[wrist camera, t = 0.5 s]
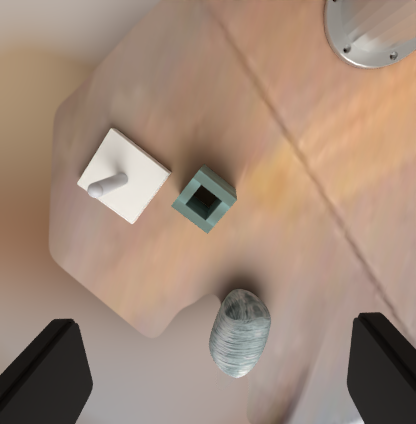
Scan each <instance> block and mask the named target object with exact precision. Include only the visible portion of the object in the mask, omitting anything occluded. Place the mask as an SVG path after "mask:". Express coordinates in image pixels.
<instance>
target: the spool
mask: <svg viewBox="0 0 416 424" xmlns="http://www.w3.org/2000/svg"><path fill="white" fill-rule="evenodd" d="M270 325H271V317H270V314H269V311H268V309H267V307H266V306H265V305H264V303H263V302H262V301H261V300H260V299H259V298H258V297H257V296H255V295H254V294H253V293H251V292H250V291H247V290H244V289H235V290H232V291H231V292H230V293H229V294H228V295H227V297H226V298H225V300H224V301H223V303H222V305H221V307H220V310H219V312H218V314H217V317H216V319H215V322H214V325H213V328H212V331H211V335H210V341H209V348H210V352H211V356H212V358H213V359H214V361H215V363H216V364H217V366H218V367H219V368H220V369H221V370H222V371H223V372H225V373H226V374H228V375H230V376H232V377H236V378H239V377H241V376H244V375H246V374H247V373H248V372H249V371H250V370H251V369H252V368H253V367H254V366H255V364H256V363H257V362H258V360H259V358H260V356H261V354H262V352H263V349H264V347H265V344H266V341H267V338H268V334H269V330H270Z"/></svg>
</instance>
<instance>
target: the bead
mask: <svg viewBox="0 0 416 424" xmlns="http://www.w3.org/2000/svg"><path fill="white" fill-rule="evenodd" d="M200 185H203V186H204V187H205V188H206V189H208V190H209V191H210V192H211V193H213V194H214V195H215V196H216V197H218V198H217V199H216V200H215V201H214V202H213V204H212V205H211V206H210V207H208V206H207V205H205V204H204V203H203V202H201V201H200V200H199V199H198V198H196V197H195V196H194V195H193V194H194V193H195V192H196V190H197V189H198V188H199V187H200ZM236 200H237V196H236V189H234V188H233V187H232V186H231V185H229V184H228V183H227V182H226V181H224V180H223V179H222V178H221V177H219V176H218V175H217V174H216V173H215V172H213V171H212V170H211V169H210V168H208V167H207V166H206V165H205V164H204V165H203V166H202V167H201V168H200V170H199V171H198V172H197V173H196V175H195V176H194V177H193V178H192V180H191V181H190V182H189V184H188V185H187V186H186V187H185V189H184V190H183V191H182V193H181V194H180V195H179V196H178V198H177V199H176V200H175V202H174V203H173V204H172V205H171V206H172V207H173V208H174V209H176V210H177V211H178V212H180V213H181V214H182V215H184V216H185V217H186V218H188V219H189V220H190V221H191V222H193V223H194V224H195V225H197V226H198V227H199V228H201V229H202V230H203V231H205V232H206V233H207V234H208V233H209V231H210V230H211V229H212V228H213V227H214V226H215V224H216V223H217V222H218V221H219V220H220V219H221V218H222V216H223V215H224V214H225V213H226V212H227V211H228V210H229V208H230V207H231V206H232V205H233V204H234V203H235V202H236Z"/></svg>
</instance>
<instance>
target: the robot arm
mask: <svg viewBox="0 0 416 424" xmlns="http://www.w3.org/2000/svg"><path fill="white" fill-rule="evenodd" d="M324 26H325V33H326V36H327V39H328V42H329V44H330V46H331V48H332V50H333V51H334V53H335V54H336V55H337V56H338V57H339V58H340V59H341V60H343V61H344V62H345V63H347V64H348V65H351V66H354V67H356V68H362V69H378V68H381V67H385V66H389V65H391V64H393V63H396V62H398V61H400V60H401V59H403V58H405V57H407V56H408V55H409V54H411V53H412V52H413V51H414V50H416V0H335V2H333V0H326V4H325V9H324ZM343 49H345V50H346V52H345V53H344V51H343ZM390 56H391V59H390ZM92 386H93V381H92V377H91V373H90V369H89V365H88V361H87V357H86V353H85V349H84V345H83V341H82V337H81V333H80V329H79V325H78V324H77V323H75V322H74V321H73V319H54V320H53V321H51V322H50V323H49V324H48V325H47V326H46V327H45V329H44V330H43V331H42V332H41V333H40V334H39V335H38V336H37V337H36V338H35V339H34V340H33V341H32V342H31V343H30V344H29V345H28V346H27V347H26V349H25V350H24V351H23V352H22V353H21V354H20V355H19V356H18V357H17V358H16V359H15V360H14V361H13V362H12V363H11V364H10V365H9V366H8V367H7V369H6V370H5V371H4V372H3V373H2V374H1V375H0V424H75V423H76V420H77V419H78V417H79V415H80V413H81V411H82V409H83V407H84V405H85V404H86V402H87V400H88V397H89V396H90V394H91V391H92ZM347 387H348V391H349V393H350V396H351V398H352V400H353V402H354V404H355V406H356V408H357V410H358V412H359V413H360V415H361V417H362V419H363V421H364V423H365V424H416V349H415V348H414V347H413V346H412V345H411V344H410V343H409V342H408V341H407V340H406V338H405V337H404V336H403V335H402V334H401V333H400V332H399V331H398V330H397V329H396V328H395V327H394V326H393V324H392V323H391V322H390V321H389V320H388V319H387V318H386V317H385V316H384V315H383V314H382V313H379V312H375V313H360V314H359V316H358V318H354V321H353V329H352V338H351V347H350V357H349V366H348V375H347Z"/></svg>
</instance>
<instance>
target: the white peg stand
mask: <svg viewBox="0 0 416 424" xmlns="http://www.w3.org/2000/svg"><path fill="white" fill-rule="evenodd" d="M171 173H172V172H170V171H169V170H168V169H167V168H165V167H164V166H163V165H162V164H160V163H159V162H158V161H157V160H155V159H154V158H153V157H151V156H150V155H149V154H148V153H146V152H145V151H144V150H143V149H141V148H140V147H139V146H137V145H136V144H135V143H134V142H132V141H131V140H130V139H129V138H127V137H126V136H125V135H123V134H122V133H121V132H120V131H118V130H117V129H116V128H111V129H110V131H109V132H108V134H107V135H106V137H105V139H104V140H103V142H102V144H101V145H100V147H99V149H98V150H97V152H96V153H95V155H94V157H93V158H92V160H91V162H90V163H89V165H88V167H87V168H86V170H85V171H84V173H83V175H82V176H81V178H80V180H79V181H78V183H77V184H78V185H79V186H81V187H82V188H83V189H85V190H86V191H87V192H88V194H89V195H90V196H91V197H94V198H97V199H98V200H100V201H101V202H102V203H104V204H105V205H106V206H108V207H109V208H111V209H112V210H113V211H115V212H116V213H117V214H119V215H120V216H121V217H123V218H124V219H126V220H127V221H128V222H130V223H131V224H133V223H134V222H135V221H136V220H137V218H138V217H139V216H140V214H141V213H142V212H143V210H144V209H145V208H146V206H147V205H148V204H149V202H150V201H151V200H152V198H153V197H154V195H155V194H156V193H157V191H158V190H159V189H160V187H161V186H162V185H163V183H164V182H165V181H166V179H167V178H168V177H169V175H170V174H171Z"/></svg>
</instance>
